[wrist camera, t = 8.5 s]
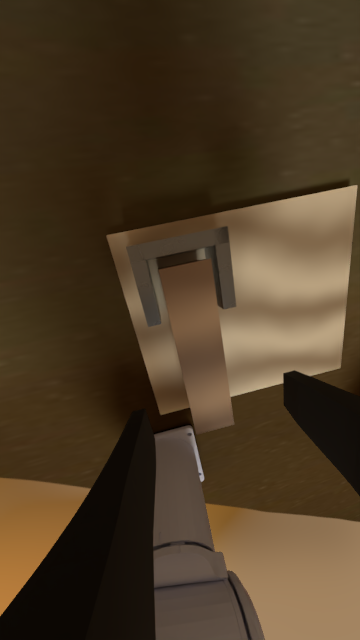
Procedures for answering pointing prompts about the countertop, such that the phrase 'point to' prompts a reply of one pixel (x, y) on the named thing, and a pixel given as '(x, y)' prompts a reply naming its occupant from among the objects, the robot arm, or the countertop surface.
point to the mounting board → (256, 292)
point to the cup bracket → (208, 240)
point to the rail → (198, 341)
